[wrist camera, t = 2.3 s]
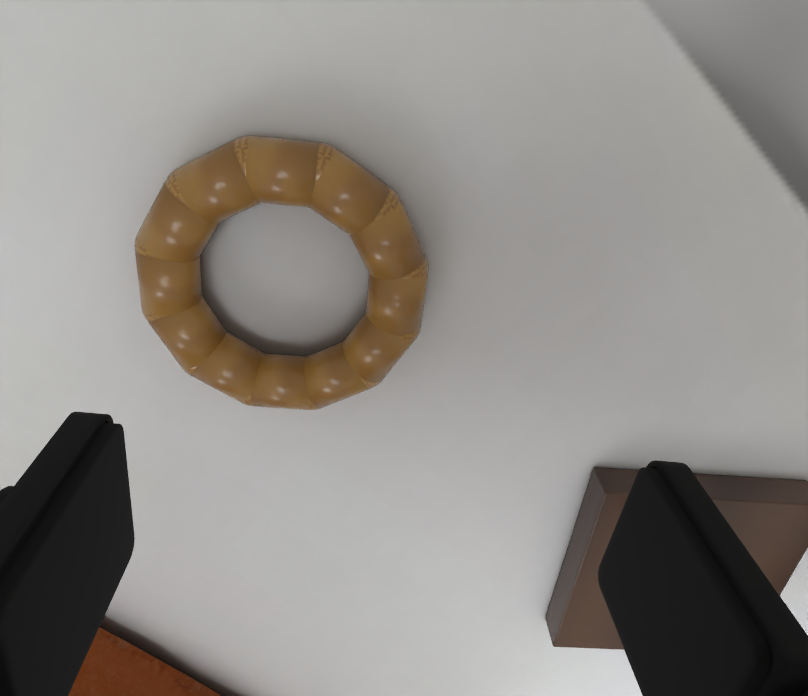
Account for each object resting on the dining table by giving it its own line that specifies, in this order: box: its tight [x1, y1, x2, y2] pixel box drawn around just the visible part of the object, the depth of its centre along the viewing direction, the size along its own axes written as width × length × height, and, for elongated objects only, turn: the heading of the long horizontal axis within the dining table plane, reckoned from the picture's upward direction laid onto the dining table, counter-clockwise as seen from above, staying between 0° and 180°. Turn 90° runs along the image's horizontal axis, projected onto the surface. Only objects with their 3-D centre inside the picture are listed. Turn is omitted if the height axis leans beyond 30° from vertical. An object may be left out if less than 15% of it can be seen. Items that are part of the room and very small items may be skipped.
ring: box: [135, 136, 428, 410], centre depth 19 cm, size 9×9×2 cm
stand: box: [546, 468, 808, 649], centre depth 21 cm, size 9×9×12 cm
